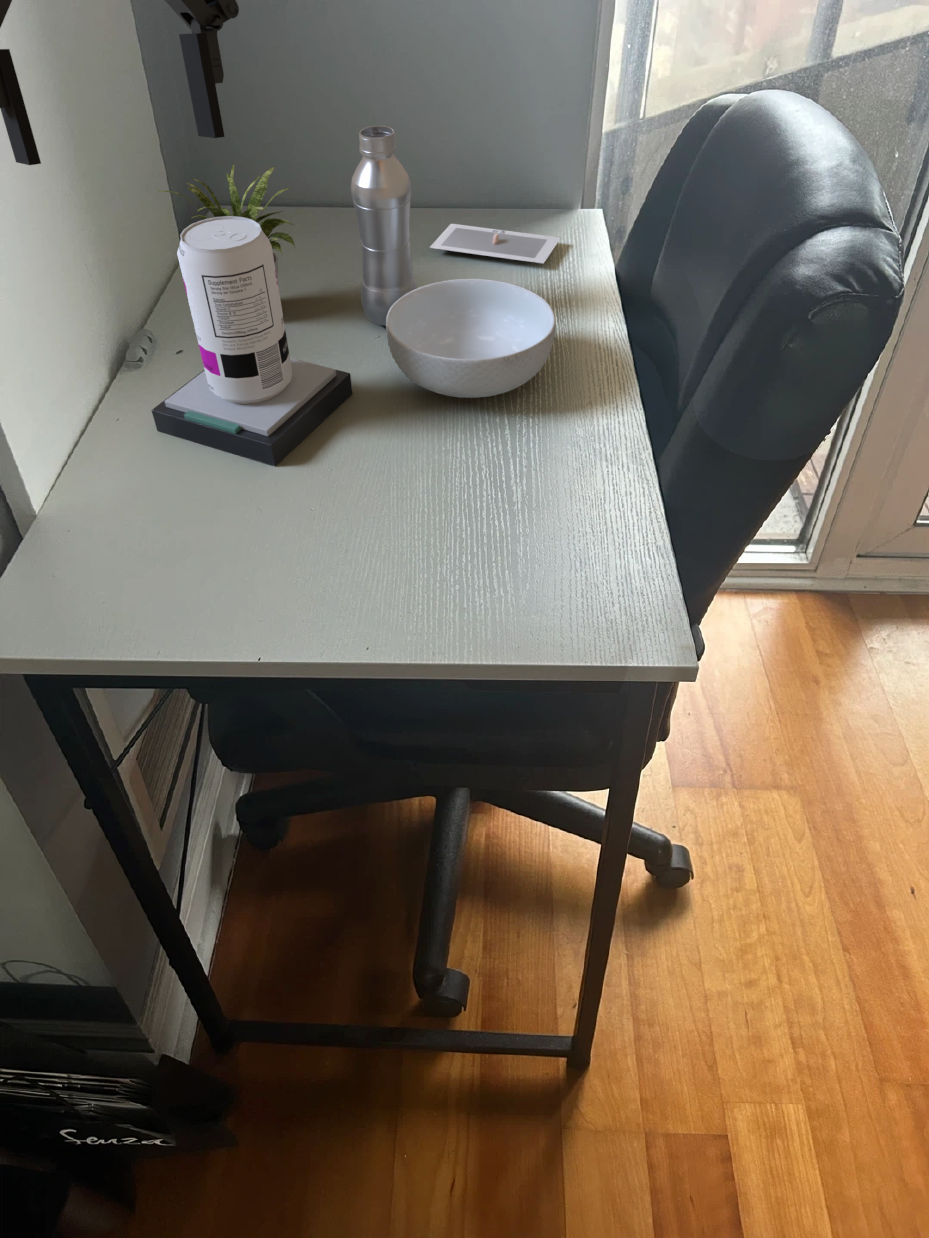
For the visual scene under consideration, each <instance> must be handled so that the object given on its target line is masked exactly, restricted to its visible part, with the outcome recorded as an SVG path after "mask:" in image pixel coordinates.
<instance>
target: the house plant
mask: <svg viewBox="0 0 929 1238" xmlns="http://www.w3.org/2000/svg"><path fill="white" fill-rule="evenodd" d="M275 167H276V165H274V166H272V167H270V168H268V169H267V170H266V171H265V172H264V173H263V174H262V175H261V176H260V175H258V176H257V177H256V178H255V179H253V181H252V182H251V183H250V184H249V186H248V187H247V188H246V190H245V191H244V194H243V195H242V199H240V194H239V191H238V189H237V185H236V184H235V181H234V175H235V174H234V173H235V163H233V164H232V167H231V169H230V174H229V173H228V172H227V171H225V173H226V180H227V182H228V183H227V184H228V193H229V197H230V207H231V212H230V211H229V209H227V208H222V206H221V204H220V203H219V200H218V198H217V197H216V195H215V194H214V191H212V189H211V188H210V187H209V186H208V185H207V184H206V183H204V182H203V181H201V180H199V179H196V178H191V177H190V179H191V180H194V181H196V182H198V183H200V184H201V185H202V186H203V187H204V188H205V189H206V190H207V191H208V193H209V194H210V195H211V197H212V199H210V198H209V196H207V195H206V194H205V193H204V192H203V191H202V190H201V189H200V188H199V187H198V186H197V185H194V184H192V183H189V182H187V181H185V183H186V184H187V185H186V188H187V189H189V191H190V192H191V193H193V194H195V196H196V197H197V199H198V200H199V201H200V202H201V204H203V205H204V206H203V207H201V208H200V206H198V205H197V204H196V203H194V201H193V200H191V199H190V198H188V197H187V196H185V195H183V194H182V193H179V192H177V191H172V190H163V189H162V190H159V193H160V192H161V193H162V192H163V193H164V192H165V193H171V194H176V195H178V196H181V197H183V198H185V199H187V200H188V201H190V203H192V204H193V205H195V206H196V207H197V208H198V210H197V211H196V212H200V211H201V212H202V213H203V214H204V215H201V214H198V215H194V216H191V219H193V218H196V217H198V218H200V219H202V220H205V219H209V218H210V217H209V215H207V214H206V213H205V212H204V211H203V209H208V210H209V212H210V213H211V214H212V215H213V218H214V217H225V216H234V217H244V218H248V219H251V220H254V221H255V222H257V223H258V224H259V225H260V227H261V229H262V231H263V232H264V234H265V235H266V236H267V238H268V239H269V241H270V244H271V246H272V250H273V249H274V250H276V251H277V252H280V253H281V254H282V255H284V253H283V251H282V247H281V244H280V243H279V242H280V240H283V241H286V242H288V243H290V244H291V245H292V246H293V247H294V248H296V245H295V241H294V238H293V237H292V236H291V235H289V234H288V233H286V232H282V231H281V232H280V231H279V232H277V231H276V232H273V230H274V229H275V228H277V227H278V226H281V225H285V224H289V225H292V226H295V224H294V223H292V222H289V221H288V220H287V219H283V218H276V217H270V216H272V215H276V214H280V213H282V212H284V210H281V211H275V212H270V213H267V214H263V212H264V210H265V211H267V207H268V206H269V205H270V204H271V202H272V201H273V200H274V199H275V198H276V197H277V196H279V195H280V194H282V193H284V192H285V191H287V190H289V189H290V187H287V188H283V189H280V190H279V191H277V192H276V193H275V194H273V196H272V197H271V198H270V199H269V201H267V203H266V204H265V206H264V207H263V206H261V204H262V201H263V199H264V196H265V194H266V193H267V190H268V184H269V178H270V176H271V175H272V173H273V172H274V169H275ZM257 181H258V182H257ZM256 182H257V183H256ZM255 183H256V185H255ZM254 185H255V188H254V189H253V191H252V194H251V196H250V198H249V201H248V204H247V206H246V208H247V209H246V210H244V211H242V209H243V205H244V204H245V201H246V200H245V199H246V198H247V195H248V193H249V192H250V190H251V189H252V187H253V186H254ZM212 200H213V201H214V203H215V204H214V203H213V201H212ZM259 210H262V212H261V213H260V215H259V214H258V213H259ZM231 213H232V214H231ZM262 214H263V215H262ZM272 232H273V233H272ZM273 258H274V264H275V270H276V276H277V282H278V283H279V258H278V256H277V254H276V253H275V252H273Z"/></svg>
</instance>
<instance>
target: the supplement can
mask: <svg viewBox="0 0 929 1238" xmlns="http://www.w3.org/2000/svg"><path fill="white" fill-rule="evenodd" d="M179 237H180V241H179V244H178V248H177V251H176V255H177V260H178V264H179V268H180V272H181V276H182V280H183V284H184V288H185V289H184V290H185V293H186V297H187V301H188V306H189V310H190V314H191V318H192V323H193V326H194V331H195V335H196V339H197V344H198V348H199V352H200V356H201V361H202V365H203V368H204V369H203V370H205V373H206V378H207V382H208V386H209V389H210V390H211V391H212V392H213V393H214V394H215V395H217V396H220V397H221V398H222V399H224V400H227V401H229V402H232V403H242V404H247V403H258V402H261V401H265V400H268V399H271V398H273V397H274V396H276V395H278V394H280V393H281V392H282V391H283V390H284V389H285V388H286V386H287V385H288V384H289V383H290V381H291V378H292V375H293V373H292V367H291V361H290V358H291V355H290V350H289V343H288V337H287V331H286V326H285V320H284V313H283V306H282V301H281V295H280V288H279V281H278V282H277V276H276V270H275V264H274V258H273V253H274V252H273V249H272V246H271V244H270V241H269V240H270V238H269V239H268V238H267V236H266V235H265V234H264V232H263V231H262V229H261V227H260V223H259V222H258V223H257V222H255V221H254V220H251V219H248V218H244V217H234V216H233V215H231V216H225V217H214V216H213V217H209V218H208V219H205V220H203V219H202V220H199V221H196V222H194V223H191V224H190V225H188V226H186V227H185V228H183V230H182V232H181V233H180V234H179Z"/></svg>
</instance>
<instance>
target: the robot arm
mask: <svg viewBox="0 0 929 1238" xmlns="http://www.w3.org/2000/svg"><path fill="white" fill-rule="evenodd" d="M164 1H165V2H166V4H167V5H168V6H169V7H170V8H171V9H172V11H173V12H174V13H175V14H176V15H177V16H178V18H179V19H181V21H182V22H183V23H184V24H185V25H186V26H187V27H188V28H189V30H191V32H190V33H179V34H178V37H179V43H180V48H181V52H182V58H183V63H184V68H185V74H186V77H187V85H188V89H189V93H190V94H189V95H190V99H191V105H192V109H193V110H192V111H193V116H194V120H195V126H196V131H197V137H203V138H210V139H211V138H212V139H219V138H225V131H224V125H223V120H222V115H221V110H220V103H219V98H218V97H219V96H218V92H217V87H216V86H217V85H216V84H223V83H224V76H225V73H224V68H223V61H222V55H221V49H220V44H219V39H218V31H220V30H222V28H223V26H224V23H226V22H228V21H229V20H231V19H236V18H237V17H238V15H239V12H240V8H239V5H238V2H237V0H164ZM12 2H13V0H0V29H1V28H2V25H3V24H4V20H5V18H6V16H7V13H8V12H9V9H10V7H11V4H12ZM0 112H1V116H2V119H3V122H4V126H5V129H6V132H7V137H8V139H9V143H10V146H11V150H12V154H13V157H14V160H15V163H18V164H23V165H27V166H35V165H41V164H42V162H41V158H40V155H39V151H38V147H37V144H36V140H35V136H34V132H33V130H32V129H33V128H32V126H31V122H30V118H29V114H28V111H27V108H26V104H25V100H24V96H23V94H22V90H21V86H20V82H19V79H18V75H17V71H16V68H15V65H14V61H13V56H12V54H11V50H10V48H0Z"/></svg>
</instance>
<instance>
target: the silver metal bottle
mask: <svg viewBox="0 0 929 1238" xmlns="http://www.w3.org/2000/svg"><path fill="white" fill-rule="evenodd" d="M358 140H359V147H358V150H359V154H360V155H362V158H361V160H360V161H359V163H358V165H357V166H356V168H355V171H354V173H353V174H352V177H351V183H350V193H351V198H352V203H353V208H354V211H355V216H356V221H357V224H358V225H357V226H358V232H359V239H360V245H361V252H362V253H361V254H362V255H361V256H362V258H361V259H362V280H361V288H360V289H361V290H360V291H361V293H360V295H361V297H360V298H361V299H360V300H361V301H360V302H361V305H362V308H363V312H364V314H365V315H366V317H367V318H368V319H369V320H370V321H371V322H372V323H375V324H376V325H380V326H385V327H386V317H387V314H388V311H389V309H390V308H391V306H392V305H393V304H394V303H395V302H396V301H397V300H398V299H399V298H401V297H402V296H404V295H405V294H407V293H409V292H411V291H412V290H415V289H417V288H418V286H417V283H416V279H415V276H414V269H413V262H412V256H411V248H410V218H411V217H410V215H411V205H412V203H411V201H412V182H411V179H410V177H409V174H408V172H407V171H406V169H405V168H404V166H403V164H402V163H401V162H400V161H399V159H398V157H396V156H395V154H396V153H397V151H398V147H397V143H396V133H395V130H394V129H393V128H392V127H390V126H385V125H371V126H366V127H364V128H361V130H359V132H358Z"/></svg>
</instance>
